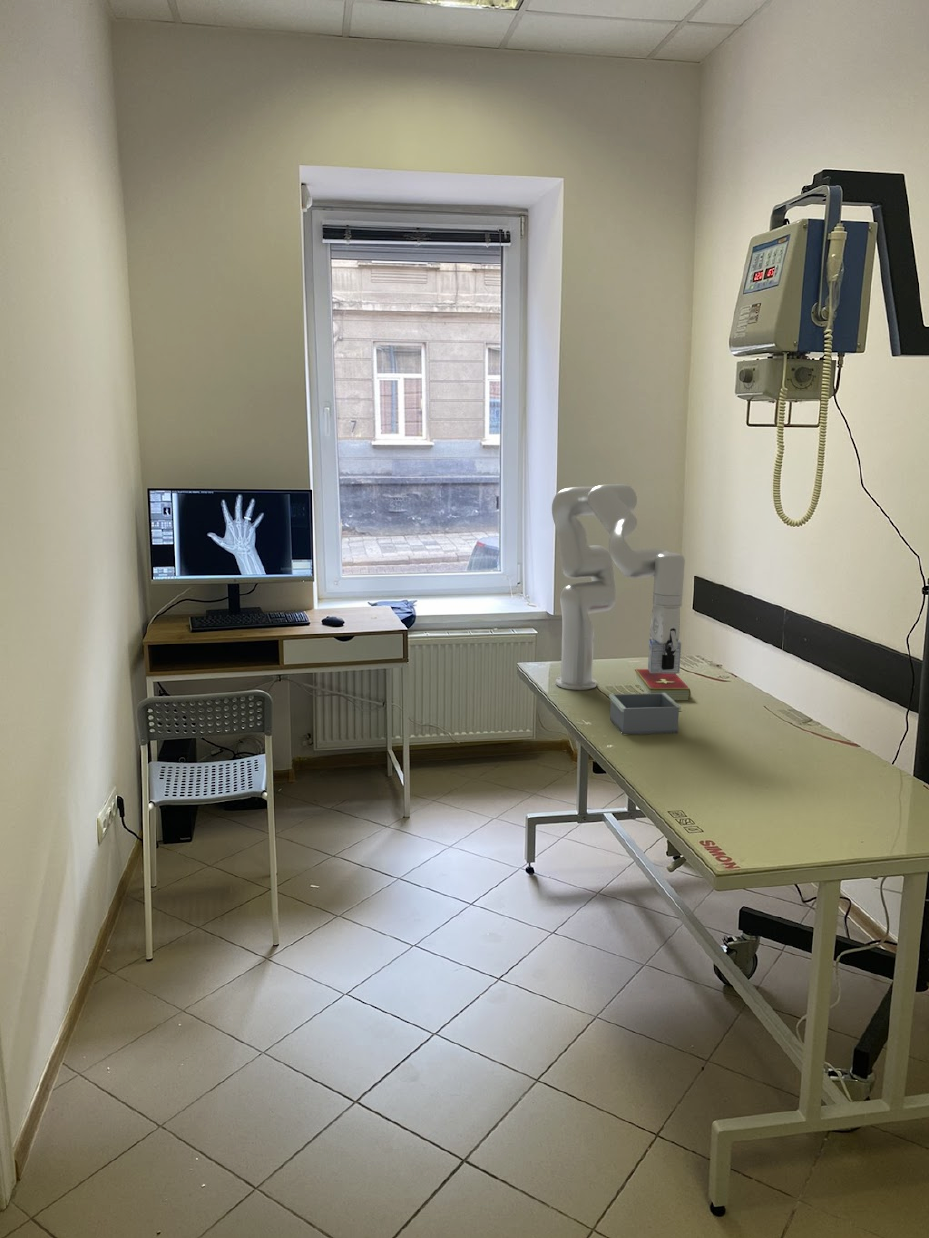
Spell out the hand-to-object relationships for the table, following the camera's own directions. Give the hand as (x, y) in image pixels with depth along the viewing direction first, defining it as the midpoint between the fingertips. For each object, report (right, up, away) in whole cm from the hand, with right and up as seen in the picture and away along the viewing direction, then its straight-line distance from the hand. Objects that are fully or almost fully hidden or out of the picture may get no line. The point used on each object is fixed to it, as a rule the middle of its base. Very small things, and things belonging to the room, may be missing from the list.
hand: (663, 665), depth 244 cm
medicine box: (0, -2, 0) cm, 2 cm away
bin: (-6, -16, -1) cm, 17 cm away
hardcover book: (+6, -9, +31) cm, 33 cm away
